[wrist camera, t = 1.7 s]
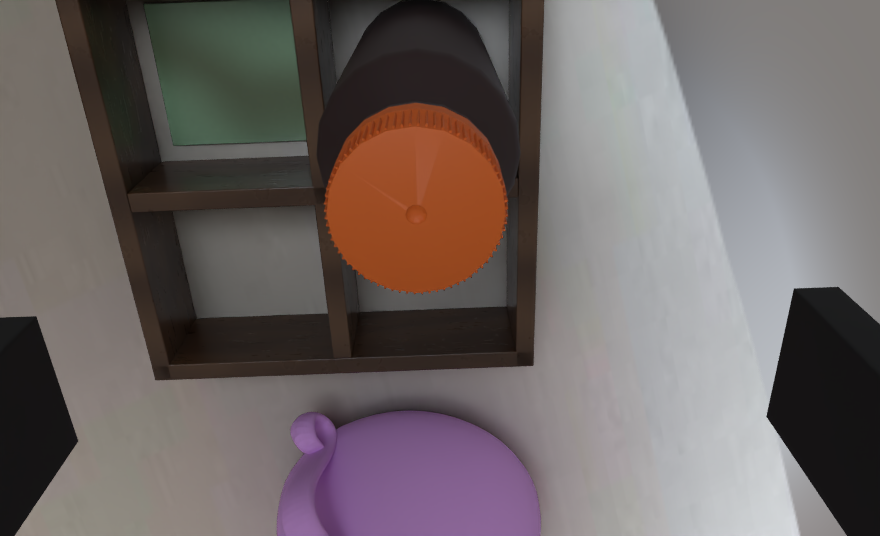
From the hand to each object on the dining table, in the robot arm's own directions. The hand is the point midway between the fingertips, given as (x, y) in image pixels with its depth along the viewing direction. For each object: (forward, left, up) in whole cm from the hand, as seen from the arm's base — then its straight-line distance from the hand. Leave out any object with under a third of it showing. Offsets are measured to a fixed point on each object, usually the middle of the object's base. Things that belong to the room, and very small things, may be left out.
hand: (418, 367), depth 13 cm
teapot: (+30, -4, -27) cm, 40 cm away
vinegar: (0, 0, -27) cm, 27 cm away
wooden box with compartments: (+5, -5, -27) cm, 28 cm away
